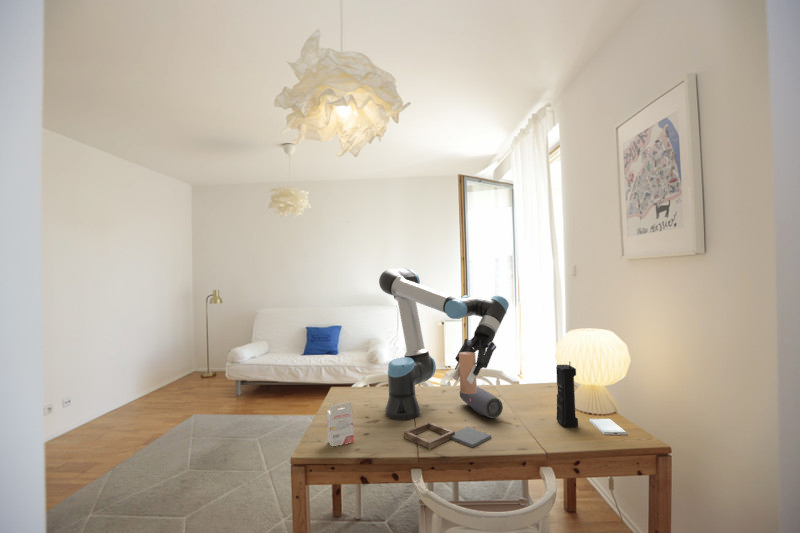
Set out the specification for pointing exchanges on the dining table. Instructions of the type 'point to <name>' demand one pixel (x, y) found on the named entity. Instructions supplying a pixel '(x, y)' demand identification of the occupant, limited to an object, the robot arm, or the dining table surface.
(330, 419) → the ink cartridge box
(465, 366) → the salmon orange cylinder
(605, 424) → the hard drive
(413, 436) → the walnut collar
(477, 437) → the charcoal mat
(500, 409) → the bluetooth speaker
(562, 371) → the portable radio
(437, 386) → the dining table surface
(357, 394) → the dining table surface
